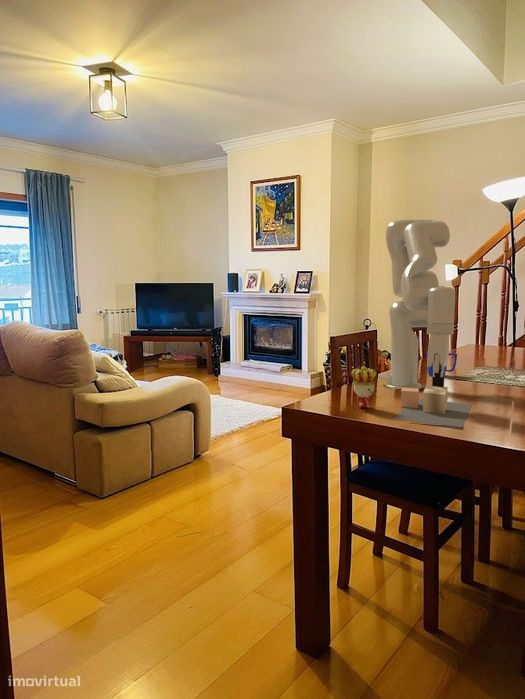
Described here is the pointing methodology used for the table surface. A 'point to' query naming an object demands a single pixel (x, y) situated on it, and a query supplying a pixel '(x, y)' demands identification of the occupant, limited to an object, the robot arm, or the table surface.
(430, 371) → the mug
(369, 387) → the toy
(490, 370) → the table surface
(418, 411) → the mat
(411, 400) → the terracotta block
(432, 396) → the maple block
